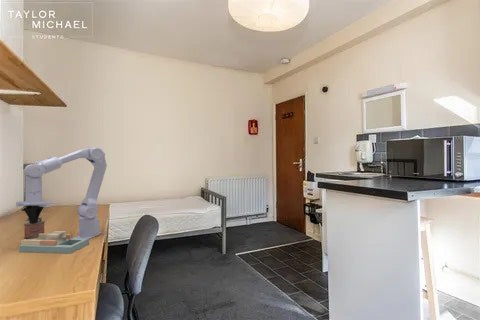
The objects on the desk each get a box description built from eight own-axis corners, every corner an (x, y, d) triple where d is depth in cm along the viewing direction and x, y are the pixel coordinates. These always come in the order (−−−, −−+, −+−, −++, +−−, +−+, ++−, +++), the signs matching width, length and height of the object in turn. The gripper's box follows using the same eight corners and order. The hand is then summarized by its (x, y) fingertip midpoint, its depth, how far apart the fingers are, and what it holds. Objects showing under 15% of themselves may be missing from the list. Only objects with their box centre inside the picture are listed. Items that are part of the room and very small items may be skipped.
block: (55, 240, 117) (55, 231, 117) (66, 240, 117) (66, 231, 117) (46, 243, 112) (46, 234, 112) (57, 244, 112) (57, 234, 112)
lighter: (43, 235, 133) (43, 215, 133) (45, 236, 131) (45, 216, 131) (23, 238, 127) (23, 217, 127) (25, 240, 125) (25, 218, 125)
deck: (42, 242, 121) (42, 232, 121) (89, 243, 120) (89, 234, 120) (19, 251, 109) (19, 241, 109) (70, 253, 108) (70, 242, 108)
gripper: (9, 192, 111) (9, 225, 112) (42, 193, 110) (42, 225, 111) (24, 190, 118) (24, 221, 119) (55, 191, 118) (55, 221, 118)
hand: (33, 223), depth 115 cm, fingers closed
